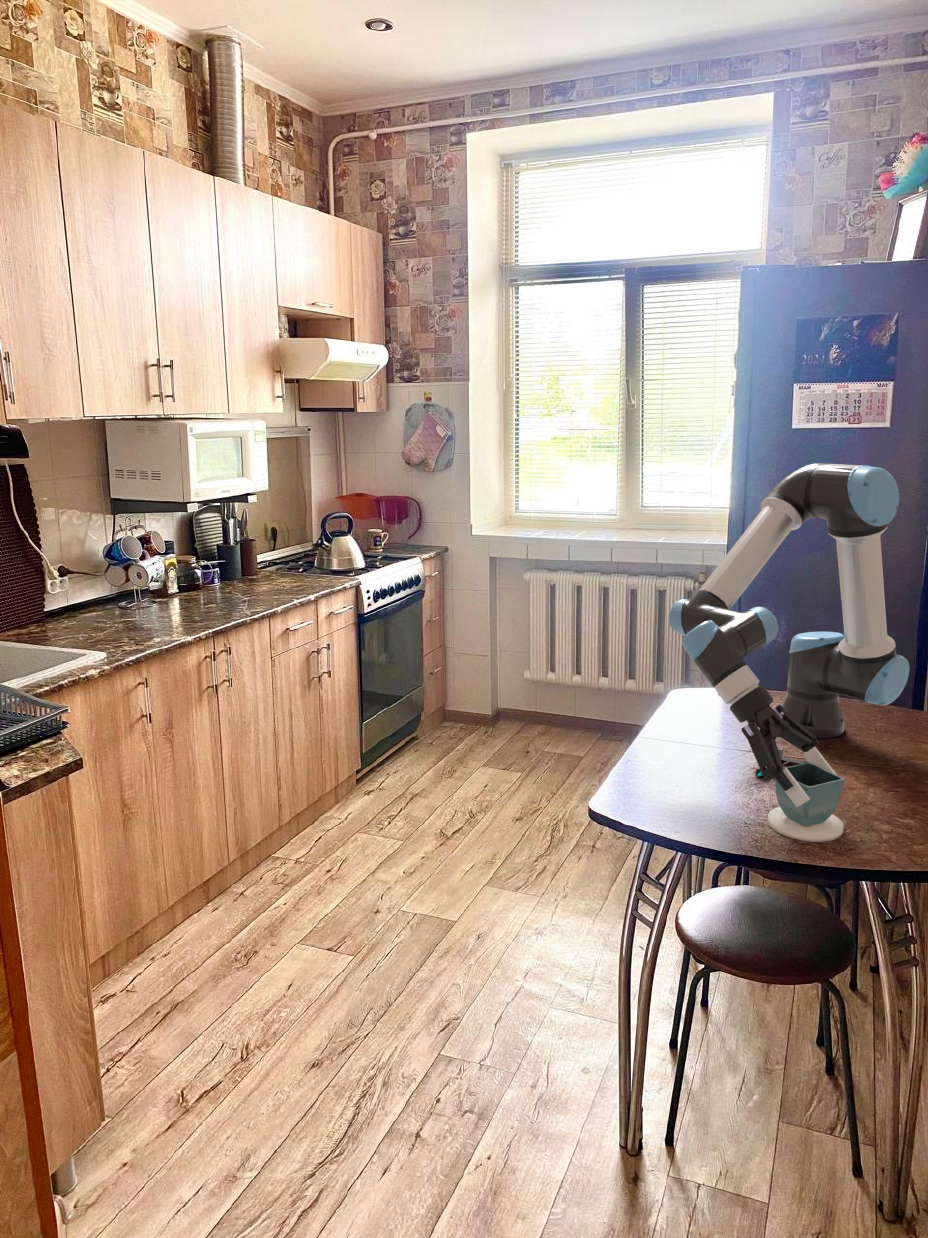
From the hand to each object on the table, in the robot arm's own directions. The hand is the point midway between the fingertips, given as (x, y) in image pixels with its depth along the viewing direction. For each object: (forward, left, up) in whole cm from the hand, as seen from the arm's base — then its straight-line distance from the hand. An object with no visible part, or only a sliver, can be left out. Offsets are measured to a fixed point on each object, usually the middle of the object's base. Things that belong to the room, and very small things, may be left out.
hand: (818, 791), depth 168 cm
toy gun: (-11, -22, -8) cm, 26 cm away
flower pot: (+1, -2, -6) cm, 7 cm away
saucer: (+1, -2, -7) cm, 7 cm away
